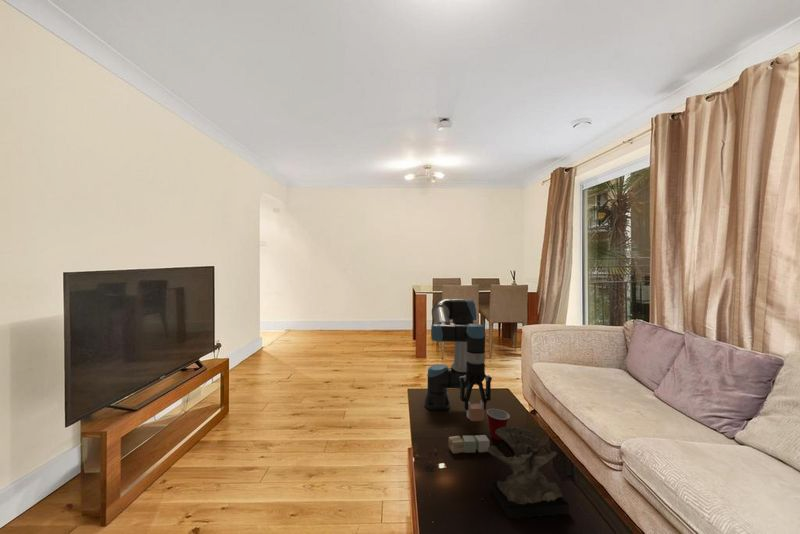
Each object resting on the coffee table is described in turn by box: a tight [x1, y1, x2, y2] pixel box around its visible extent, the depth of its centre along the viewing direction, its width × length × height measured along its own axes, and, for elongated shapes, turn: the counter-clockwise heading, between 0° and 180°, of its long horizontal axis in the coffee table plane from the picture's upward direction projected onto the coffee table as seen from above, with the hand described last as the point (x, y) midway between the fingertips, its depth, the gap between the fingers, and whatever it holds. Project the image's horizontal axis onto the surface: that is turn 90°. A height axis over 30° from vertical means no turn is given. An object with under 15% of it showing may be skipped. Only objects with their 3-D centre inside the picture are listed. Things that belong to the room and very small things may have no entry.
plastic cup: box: [486, 408, 511, 441], centre depth 161 cm, size 11×11×12 cm
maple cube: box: [448, 435, 465, 455], centre depth 150 cm, size 5×5×5 cm
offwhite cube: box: [474, 434, 491, 453], centre depth 151 cm, size 5×5×5 cm
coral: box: [488, 426, 570, 519], centre depth 120 cm, size 25×20×22 cm
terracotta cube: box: [469, 403, 484, 422], centre depth 139 cm, size 5×5×5 cm
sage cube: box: [462, 435, 477, 454], centre depth 150 cm, size 5×5×5 cm
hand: (475, 417), depth 139 cm, fingers closed on terracotta cube, 5 cm apart
